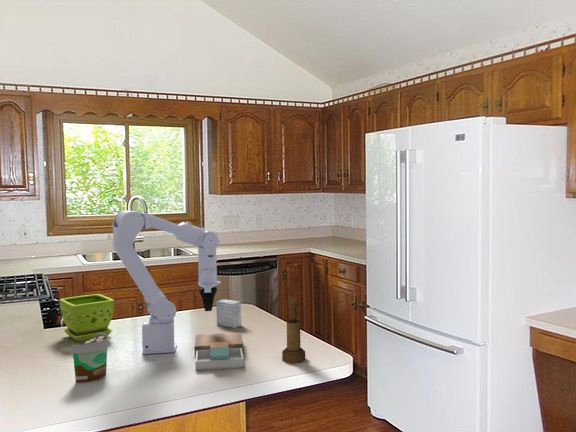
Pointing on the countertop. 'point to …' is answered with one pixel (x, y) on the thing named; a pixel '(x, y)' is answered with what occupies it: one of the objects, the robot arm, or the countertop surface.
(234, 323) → the medicine box
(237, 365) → the tray
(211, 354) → the teal tile
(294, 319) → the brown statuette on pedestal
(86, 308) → the flower pot
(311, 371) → the countertop surface
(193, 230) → the robot arm
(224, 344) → the terracotta tile
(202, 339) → the walnut board
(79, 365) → the food container
